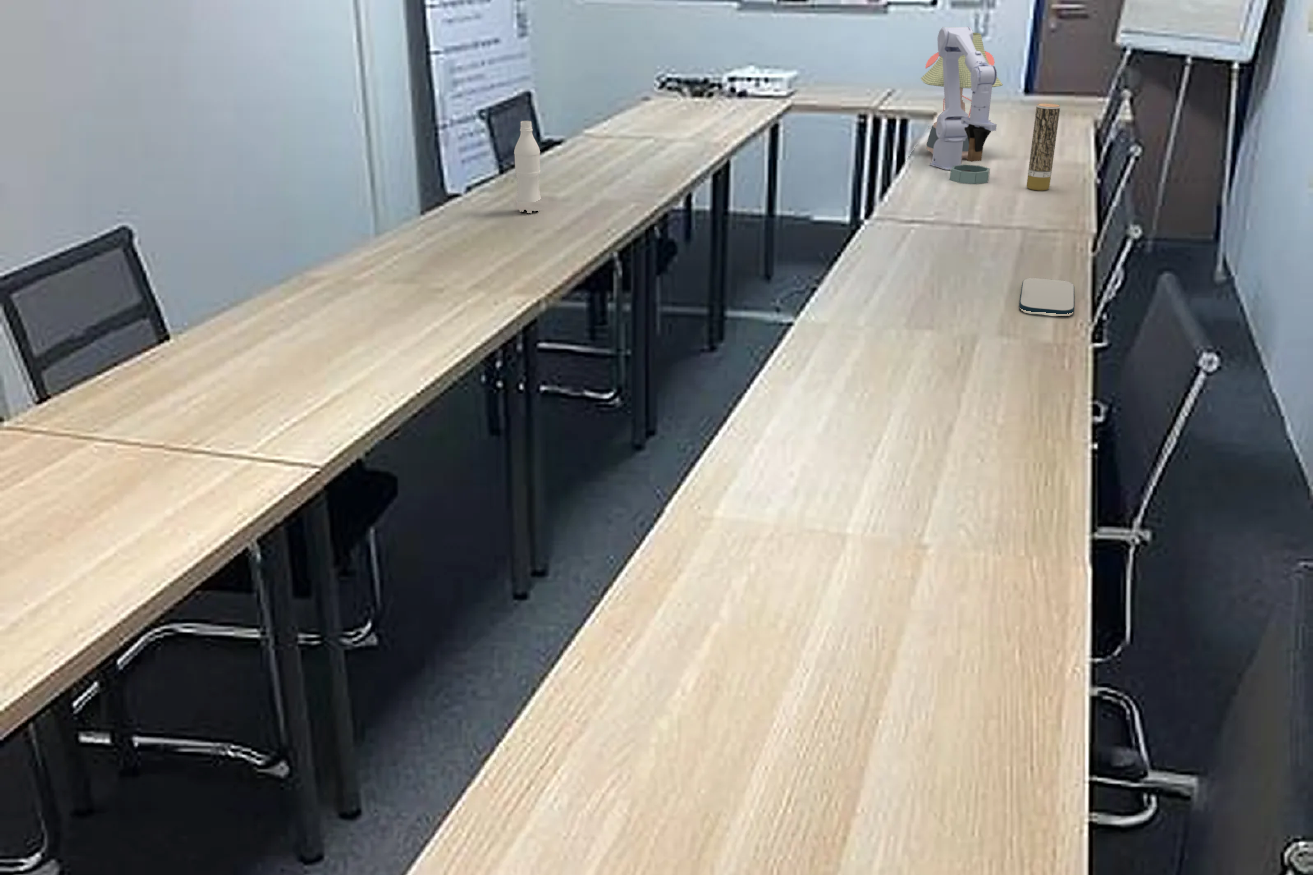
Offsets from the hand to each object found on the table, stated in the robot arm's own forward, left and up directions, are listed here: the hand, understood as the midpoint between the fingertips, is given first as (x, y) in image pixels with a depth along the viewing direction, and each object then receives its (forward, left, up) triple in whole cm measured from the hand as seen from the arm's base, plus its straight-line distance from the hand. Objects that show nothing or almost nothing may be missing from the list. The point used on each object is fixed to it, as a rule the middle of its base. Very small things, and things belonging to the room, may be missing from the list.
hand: (975, 150), depth 389 cm
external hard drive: (+108, -65, -10) cm, 127 cm away
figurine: (-66, +42, -9) cm, 78 cm away
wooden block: (0, 0, -3) cm, 3 cm away
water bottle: (-17, -142, -9) cm, 144 cm away
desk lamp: (-33, +18, -9) cm, 39 cm away
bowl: (0, -1, -9) cm, 9 cm away
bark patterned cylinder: (+19, +10, -9) cm, 23 cm away
